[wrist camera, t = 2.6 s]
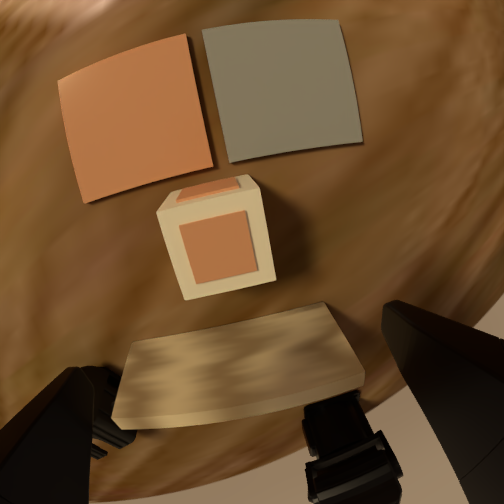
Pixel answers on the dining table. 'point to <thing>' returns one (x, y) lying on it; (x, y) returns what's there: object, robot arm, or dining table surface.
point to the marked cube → (217, 236)
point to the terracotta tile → (134, 119)
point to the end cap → (106, 410)
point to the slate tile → (282, 86)
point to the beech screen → (236, 370)
